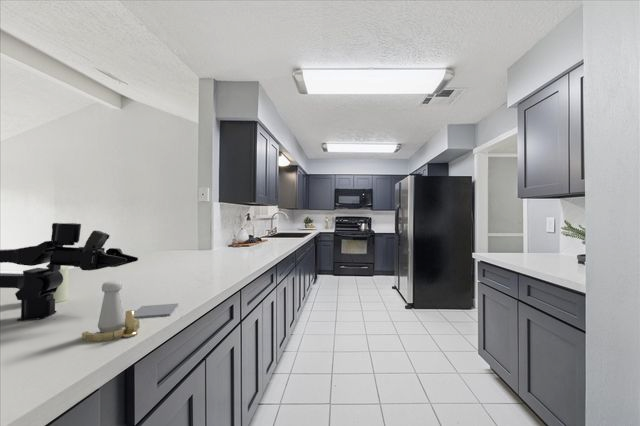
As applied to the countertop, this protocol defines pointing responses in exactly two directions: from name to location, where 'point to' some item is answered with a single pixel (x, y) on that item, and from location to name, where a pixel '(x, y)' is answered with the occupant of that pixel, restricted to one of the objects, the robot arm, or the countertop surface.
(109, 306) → the salt shaker
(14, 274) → the robot arm
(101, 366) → the countertop surface
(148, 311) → the coaster
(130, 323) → the gold curved piece
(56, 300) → the can
